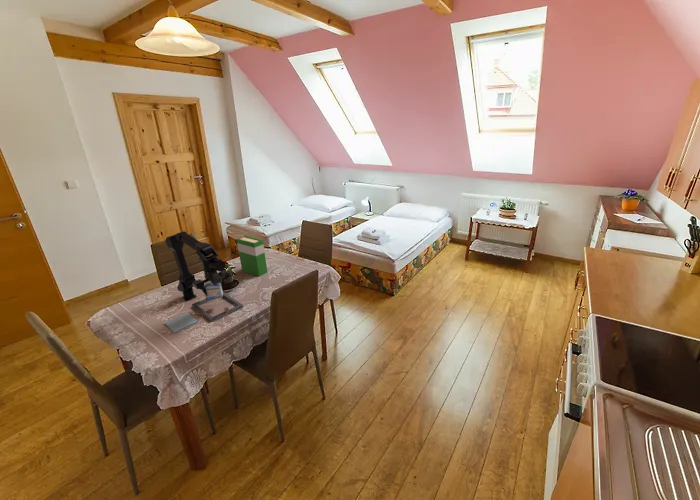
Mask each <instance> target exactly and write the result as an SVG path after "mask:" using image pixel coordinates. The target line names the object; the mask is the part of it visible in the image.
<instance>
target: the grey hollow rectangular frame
mask: <svg viewBox="0 0 700 500" xmlns="http://www.w3.org/2000/svg"><path fill="white" fill-rule="evenodd" d="M222 298H225V299H226V300H228V301H229V302H230V303H232V304H234V305H235V306H233V307H231V308H229V307H224V308H223V309H224V311H222V312H221V313H218V314H216V315H214V316H212V315H210V313H208V312H207V311H205V310H204V309H203V308H201V307H200V306H202V305H203V304H206V303H209V302H211V301H213V300H216V299H217V298H215V299H209V300H208V299H207V296H206V295H205V299H204V298H203V299H201V300H199V301H197V302H194V303H192V304H191V307H192V308H194V310H196V311H197V312H199V313H200V314H201V315H202V316H204V317H205V318H206V319H207V320H208V321H209V322H210V323H214V322H215V321H218V320H219V319H222V318H224V317H226V316H229V315H231V314H232V313H235V312H237V311H240V310H241V309H243V308H244V304H242V303H241V302H239V301H238V300H236V299H235V298H233V297H232V296H230V295H228V294H227V293H226V292H224V291H223V296H222Z"/></svg>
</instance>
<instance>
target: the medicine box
mask: <svg viewBox="0 0 700 500" xmlns="http://www.w3.org/2000/svg"><path fill="white" fill-rule="evenodd" d="M204 286H205V287H206V288H205V289H206V292H207V299H208V300H209V299H213V300H216V299H219V298H220V299H221V298H223V292H224V291H223V290H224V289H223V290H222V286H221V283H218V284H216V285H213V283H212V282H211V281H210V282H207V283H205V284H204ZM215 298H216V299H215Z"/></svg>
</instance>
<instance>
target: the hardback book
mask: <svg viewBox="0 0 700 500" xmlns="http://www.w3.org/2000/svg"><path fill="white" fill-rule="evenodd" d="M236 244H237V250H238V254H239V260H240V266H241V270H242V272H245V273H248V274H250V275H253V276H257V277H261V276H263V275H265V274H267V273H268V266H267V260H266V252H265V246H264V240H263V239H260V238H257V237H254V236H253V237H251V236H248V235H244V237H241V238H236Z"/></svg>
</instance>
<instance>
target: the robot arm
mask: <svg viewBox="0 0 700 500" xmlns="http://www.w3.org/2000/svg"><path fill="white" fill-rule="evenodd" d="M165 245H166V246H167V248H168V249H169V250H171V251H172V253H173V256H174V259H175V263H176V267H177V269H178V272H179V277H178V284H177V287H176V289H177V290H178V291H179V292H182V296H181V299H183V300H184V301H185V302H187V301H190V300H192V299H195V298H197V297H198V296H197V294H195V291H194V288H195V289H197V290H201V291H202V293H203V294H204V295H205V297H206V296H207V292H206V289H205V288H206V287H205V283H208V282H212V283H213V285H216V284H218V283H221V286H222V290H224V287H225V282H226V281H227V280H228V279H229V278H230V277H231V274H230V272H229V271H228V270H225V269H226V267H227V264H226V261H224V260H222V258H221V257H219V254H218V252H217V250H215V248H214V247H213V245H211V244H210V243H208V242H201V241H199V240H198V239H196V238H195V237H193V236H191V235H190V234H188V233H187V232H186V231H185V230H184V231H183V230H182V231H180V232H176V234H175V233H174V234H172V235H169V236H167V237H166V238H165ZM184 245H187V246H188V247H190V248H191V249H193V250H194V251H195V254H196V255H197V256H198V260H200V261H201V263H202V268H203V269H202V271H203V272H204V273H203V274H204V277H203V278H205V279H204V280H202V279H196V277H195V274H192V273H191V272H190V271H189V267H188V263H187V260H186V257H185V253H184V251H183V248H184Z"/></svg>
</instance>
